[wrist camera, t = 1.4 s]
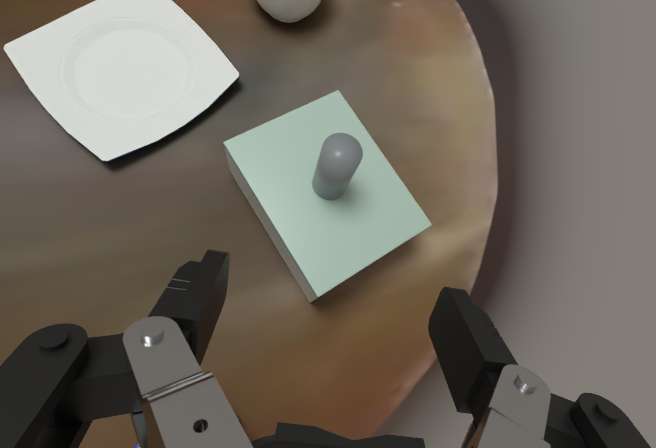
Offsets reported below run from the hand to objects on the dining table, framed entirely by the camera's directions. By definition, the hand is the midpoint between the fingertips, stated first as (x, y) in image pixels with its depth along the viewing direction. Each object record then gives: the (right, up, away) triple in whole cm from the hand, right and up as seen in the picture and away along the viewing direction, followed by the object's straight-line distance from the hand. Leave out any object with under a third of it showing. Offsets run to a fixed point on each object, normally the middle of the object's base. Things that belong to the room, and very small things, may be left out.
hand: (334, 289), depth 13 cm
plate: (-24, +21, +32) cm, 45 cm away
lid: (0, +6, +25) cm, 26 cm away
